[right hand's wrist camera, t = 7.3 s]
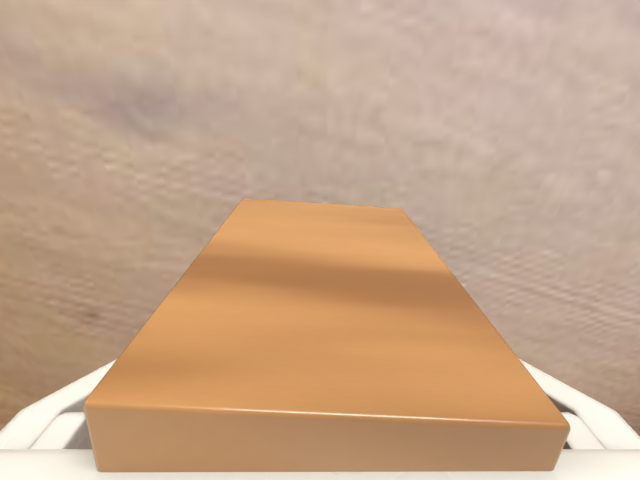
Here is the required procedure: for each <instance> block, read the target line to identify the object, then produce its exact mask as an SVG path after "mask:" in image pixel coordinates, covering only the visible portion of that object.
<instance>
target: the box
mask: <svg viewBox="0 0 640 480" xmlns="http://www.w3.org/2000/svg"><path fill="white" fill-rule="evenodd" d="M83 409H84V413H85V418H86V422H87V427H88V431H89V436H90V440H91V445H92V449H93V454H94V458H95V463H96V467H97V471H98V472H479V471H552V470H554V468H555V466H556V463H557V461H558V459H559V456H560V454H561V452H562V449H563V447H564V445H565V442H566V440H567V437H568V435H569V433H570V425H569V423H568V421H567V420H566V419H565V418H564V416H563V415H562V414H561V412H560V411H559V410H558V409H557V407H556V406H555V405H554V403H553V402H552V401H551V400H550V398H549V397H548V396H547V394H546V393H545V392H544V391H543V389H542V388H541V387H540V385H539V384H538V383H537V381H536V380H535V379H534V378H533V376H532V375H531V374H530V372H529V371H528V370H527V369H526V367H525V366H524V365H523V363H522V362H521V361H520V360H519V358H518V357H517V356H516V354H515V353H514V352H513V351H512V349H511V348H510V347H509V345H508V344H507V343H506V342H505V340H504V339H503V338H502V336H501V335H500V334H499V333H498V331H497V330H496V329H495V327H494V326H493V325H492V324H491V322H490V321H489V320H488V318H487V317H486V316H485V315H484V313H483V312H482V311H481V309H480V308H479V307H478V306H477V304H476V303H475V302H474V300H473V299H472V298H471V297H470V295H469V294H468V293H467V291H466V290H465V289H464V288H463V286H462V285H461V284H460V282H459V281H458V280H457V279H456V277H455V276H454V275H453V273H452V272H451V271H450V270H449V268H448V267H447V266H446V264H445V263H444V262H443V261H442V259H441V258H440V257H439V255H438V254H437V253H436V252H435V250H434V249H433V248H432V246H431V245H430V244H429V243H428V241H427V240H426V239H425V237H424V236H423V235H422V234H421V232H420V231H419V230H418V228H417V227H416V226H415V225H414V223H413V222H412V221H411V219H410V218H409V217H408V216H407V214H406V213H405V212H404V210H403V209H401V208H385V207H369V206H354V205H338V204H322V203H306V202H290V201H275V200H259V199H242V200H241V202H240V203H239V204H238V206H237V207H236V208H235V209H234V211H233V212H232V213H231V215H230V216H229V217H228V218H227V220H226V221H225V222H224V223H223V225H222V226H221V227H220V229H219V230H218V231H217V232H216V234H215V235H214V236H213V237H212V239H211V240H210V241H209V243H208V244H207V245H206V246H205V248H204V249H203V250H202V252H201V253H200V254H199V255H198V257H197V258H196V259H195V260H194V262H193V263H192V264H191V266H190V267H189V268H188V269H187V271H186V272H185V273H184V275H183V276H182V277H181V278H180V280H179V281H178V282H177V283H176V285H175V286H174V287H173V289H172V290H171V291H170V292H169V294H168V295H167V296H166V298H165V299H164V300H163V301H162V303H161V304H160V305H159V306H158V308H157V309H156V310H155V312H154V313H153V314H152V315H151V317H150V318H149V319H148V321H147V322H146V323H145V324H144V326H143V327H142V328H141V329H140V331H139V332H138V333H137V335H136V336H135V337H134V338H133V340H132V341H131V342H130V344H129V345H128V346H127V347H126V349H125V350H124V351H123V352H122V354H121V355H120V356H119V358H118V359H117V360H116V361H115V363H114V364H113V365H112V367H111V368H110V369H109V370H108V372H107V373H106V374H105V375H104V377H103V378H102V379H101V381H100V382H99V383H98V384H97V386H96V387H95V388H94V389H93V391H92V392H91V393H90V395H89V396H88V397H87V398H86V400H85V402H84V406H83Z"/></svg>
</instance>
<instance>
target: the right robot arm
mask: <svg viewBox="0 0 640 480" xmlns="http://www.w3.org/2000/svg"><path fill="white" fill-rule="evenodd" d="M116 360H117V359H116ZM116 360H114V361H112V362H110V363H109V364H107V365H105V366H103V367H101V368H99V369H97V370H95V371H94V372H92V373H90V374H88V375H86V376H84V377H82V378H80V379H79V380H77V381H75V382H73V383H71V384H69V385H67V386H66V387H64V388H62V389H60V390H58V391H56V392H54V393H52V394H51V395H49V396H47V397H45V398H43V399H41V400H39V401H37V402H36V403H34V404H32V405H30V406H28V407H26V408H24V409H22V410H21V411H19V412H18V414H17V415H16V416H15V417H14V418H13V419H12V420H11V421H10V422H9V423H8V424H7V425H6V426H5V427H4V428H3V429H2V430H1V431H0V480H640V436H639V435H638V434H637V433H636V432H635V431H634V430H633V429H632V428H631V427H630V426H629V425H628V424H627V423H626V422H625V420H624V419H623V418H622V417H621V416H620V415H619V414H618V413H617V412H616V411H614V410H613V409H611V408H609V407H607V406H605V405H603V404H601V403H600V402H598V401H596V400H594V399H592V398H590V397H588V396H587V395H585V394H583V393H581V392H579V391H577V390H576V389H574V388H572V387H570V386H568V385H566V384H564V383H563V382H561V381H559V380H557V379H555V378H553V377H552V376H550V375H548V374H546V373H544V372H542V371H540V370H539V369H537V368H535V367H533V366H531V365H529V364H527V363H526V362H524V361H522V360H520V359H519V360H520V361H521V362H522V363H523V365H524V366H525V367H526V369H527V370H528V371H529V372H530V374H531V375H532V376H533V378H534V379H535V380H536V381H537V383H538V384H539V385H540V387H541V388H542V389H543V391H544V392H545V393H546V394H547V396H548V397H549V398H550V400H551V401H552V402H553V403H554V405H555V406H556V407H557V409H558V410H559V411H560V412H561V414H562V415H563V416H564V418H565V419H566V420H567V421H568V423H569V425H570V433H569V435H568V437H567V440H566V442H565V445H564V447H563V449H562V452H561V454H560V456H559V459H558V461H557V463H556V466H555V468H554V470H552V471H479V472H98V471H97V467H96V463H95V458H94V454H93V449H92V445H91V440H90V436H89V431H88V427H87V422H86V418H85V413H84V409H83V406H84V402H85V400H86V398H87V397H88V396H89V395H90V393H91V392H92V391H93V389H94V388H95V387H96V386H97V384H98V383H99V382H100V381H101V379H102V378H103V377H104V375H105V374H106V373H107V372H108V370H109V369H110V368H111V367H112V365H113V364H114V363H115V361H116Z"/></svg>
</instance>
